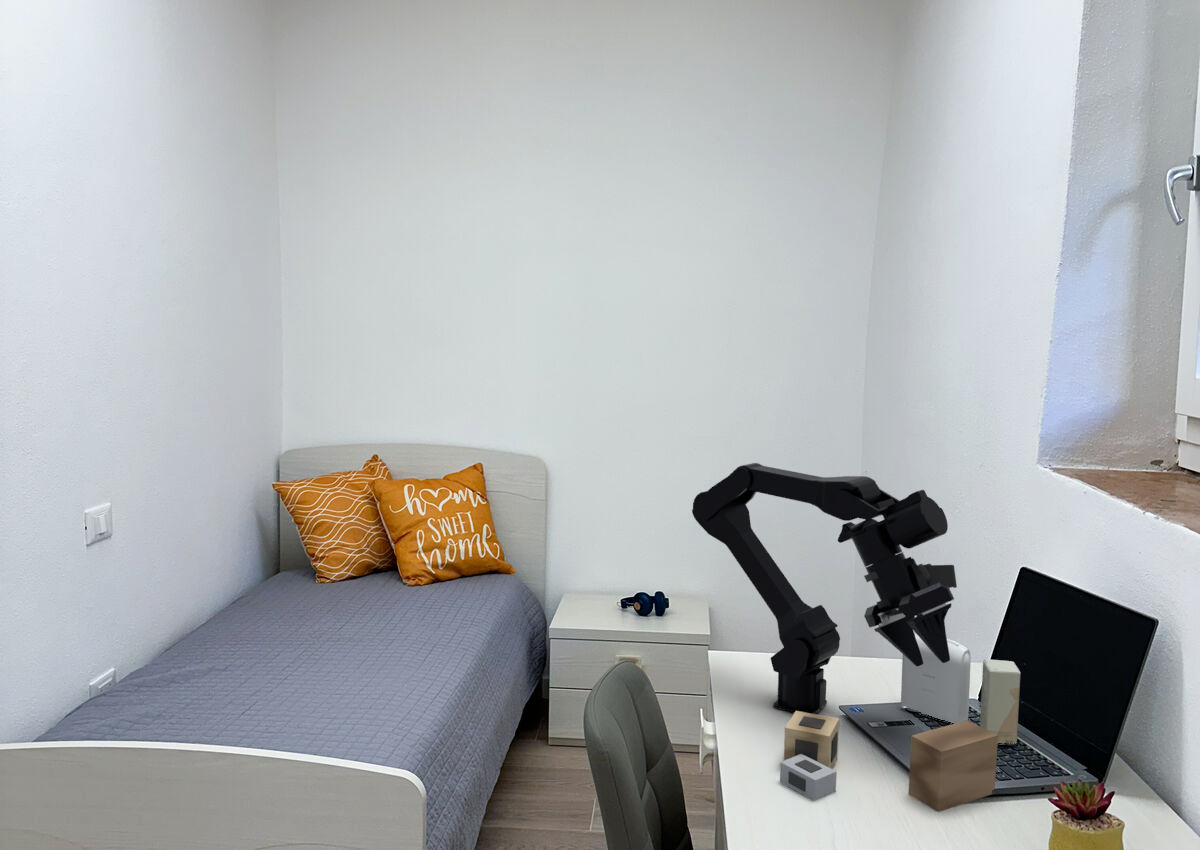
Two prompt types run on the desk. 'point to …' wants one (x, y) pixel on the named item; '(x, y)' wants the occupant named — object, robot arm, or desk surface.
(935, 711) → the photo printer
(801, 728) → the oak cube
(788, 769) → the grey block
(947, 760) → the walnut block
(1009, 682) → the box
